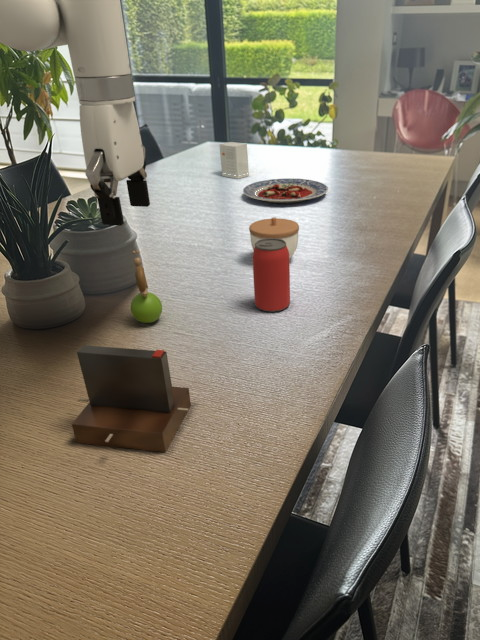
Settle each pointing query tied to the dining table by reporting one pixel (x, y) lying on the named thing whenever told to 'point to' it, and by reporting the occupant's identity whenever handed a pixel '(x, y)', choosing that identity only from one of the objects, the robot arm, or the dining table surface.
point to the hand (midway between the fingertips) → (127, 214)
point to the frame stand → (131, 424)
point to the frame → (127, 378)
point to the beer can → (271, 274)
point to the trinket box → (275, 232)
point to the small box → (234, 159)
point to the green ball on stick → (144, 297)
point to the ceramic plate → (285, 190)
